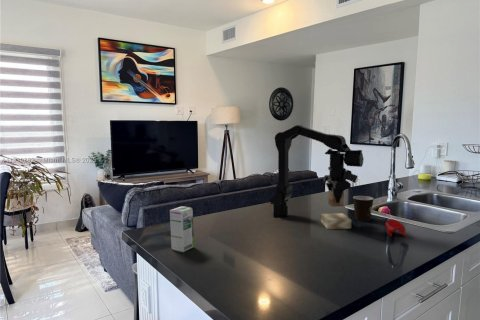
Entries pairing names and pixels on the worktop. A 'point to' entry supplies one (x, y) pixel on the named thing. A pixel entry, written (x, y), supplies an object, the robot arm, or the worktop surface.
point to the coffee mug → (363, 207)
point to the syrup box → (182, 228)
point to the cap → (394, 227)
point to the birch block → (336, 221)
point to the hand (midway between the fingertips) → (335, 201)
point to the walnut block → (333, 202)
